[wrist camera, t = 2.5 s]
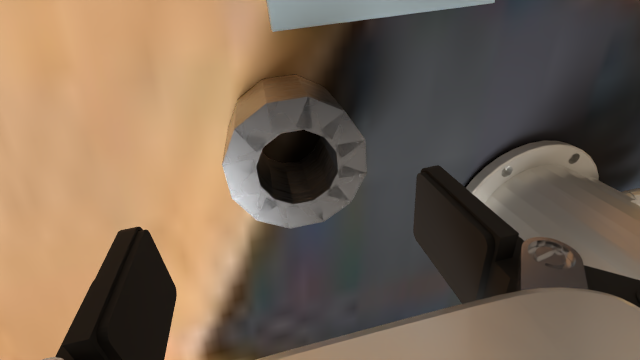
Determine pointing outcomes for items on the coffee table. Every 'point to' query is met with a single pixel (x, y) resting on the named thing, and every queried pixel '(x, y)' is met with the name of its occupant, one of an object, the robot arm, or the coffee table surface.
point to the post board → (350, 10)
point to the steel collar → (299, 176)
